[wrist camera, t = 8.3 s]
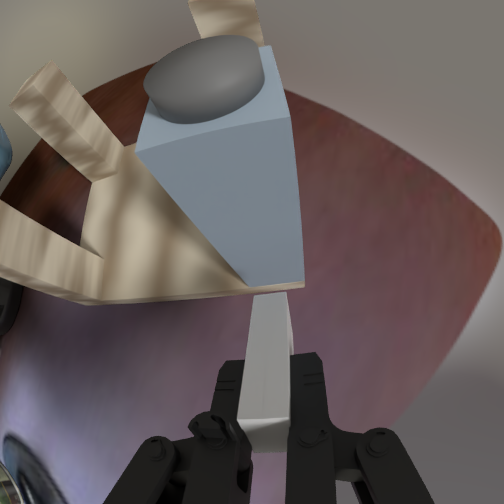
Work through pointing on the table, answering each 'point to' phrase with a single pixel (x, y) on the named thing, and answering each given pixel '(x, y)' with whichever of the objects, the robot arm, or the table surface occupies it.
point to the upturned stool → (118, 203)
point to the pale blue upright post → (228, 153)
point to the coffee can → (8, 488)
